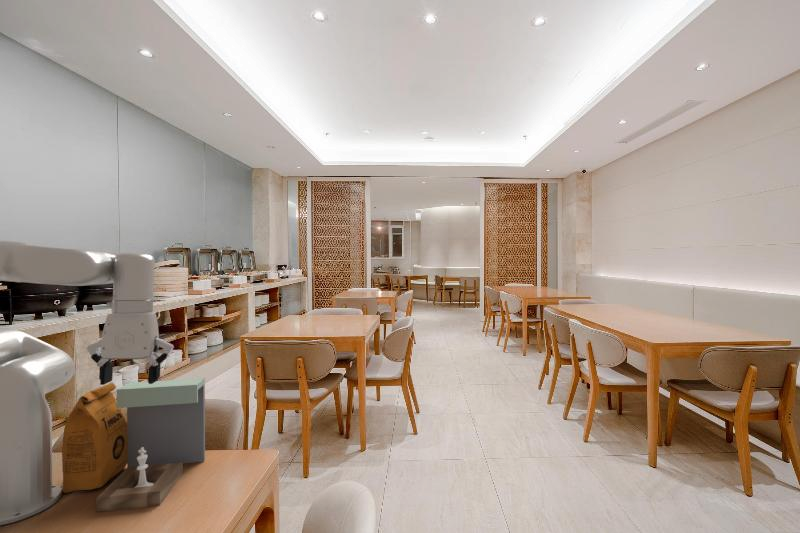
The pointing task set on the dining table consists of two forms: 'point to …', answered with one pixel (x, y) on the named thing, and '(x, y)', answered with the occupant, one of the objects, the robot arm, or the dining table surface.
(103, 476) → the coffee package
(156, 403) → the grey green box
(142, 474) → the chess piece
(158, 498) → the socket block
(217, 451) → the dining table surface
